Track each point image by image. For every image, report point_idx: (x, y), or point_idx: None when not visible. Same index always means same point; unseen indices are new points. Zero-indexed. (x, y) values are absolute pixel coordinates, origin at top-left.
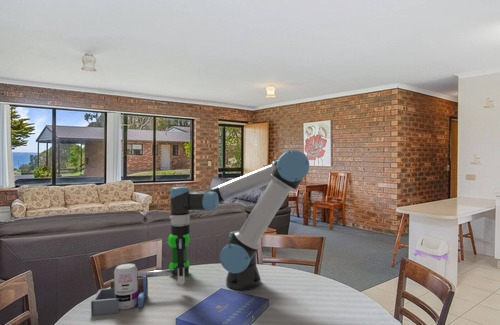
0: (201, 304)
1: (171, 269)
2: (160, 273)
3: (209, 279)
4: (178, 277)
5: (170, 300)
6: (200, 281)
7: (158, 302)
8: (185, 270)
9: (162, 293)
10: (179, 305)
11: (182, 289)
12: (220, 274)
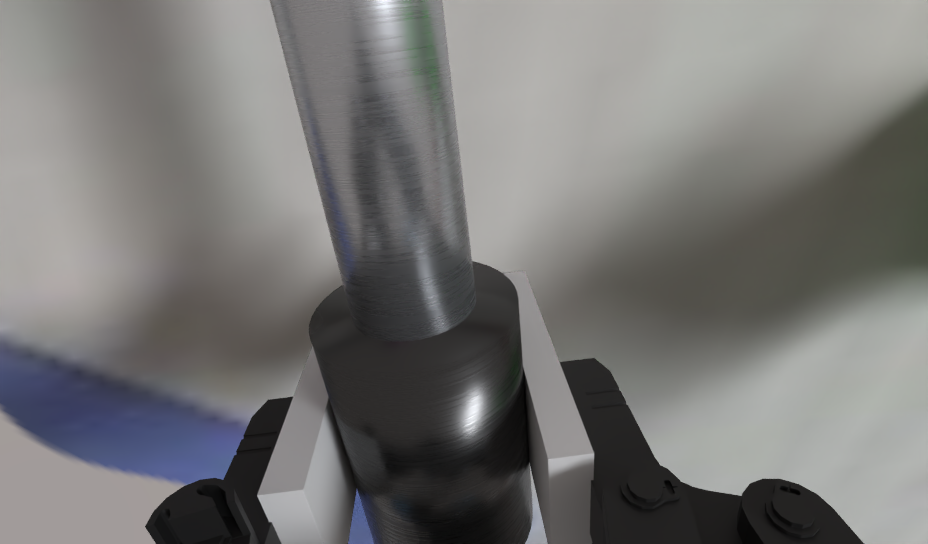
0: (187, 433)
1: (419, 292)
2: (274, 7)
3: (744, 433)
4: (315, 359)
5: (247, 163)
6: (723, 373)
7: (172, 22)
8: (367, 520)
9: (464, 17)
10: (133, 273)
11: (551, 241)
12: (828, 493)
